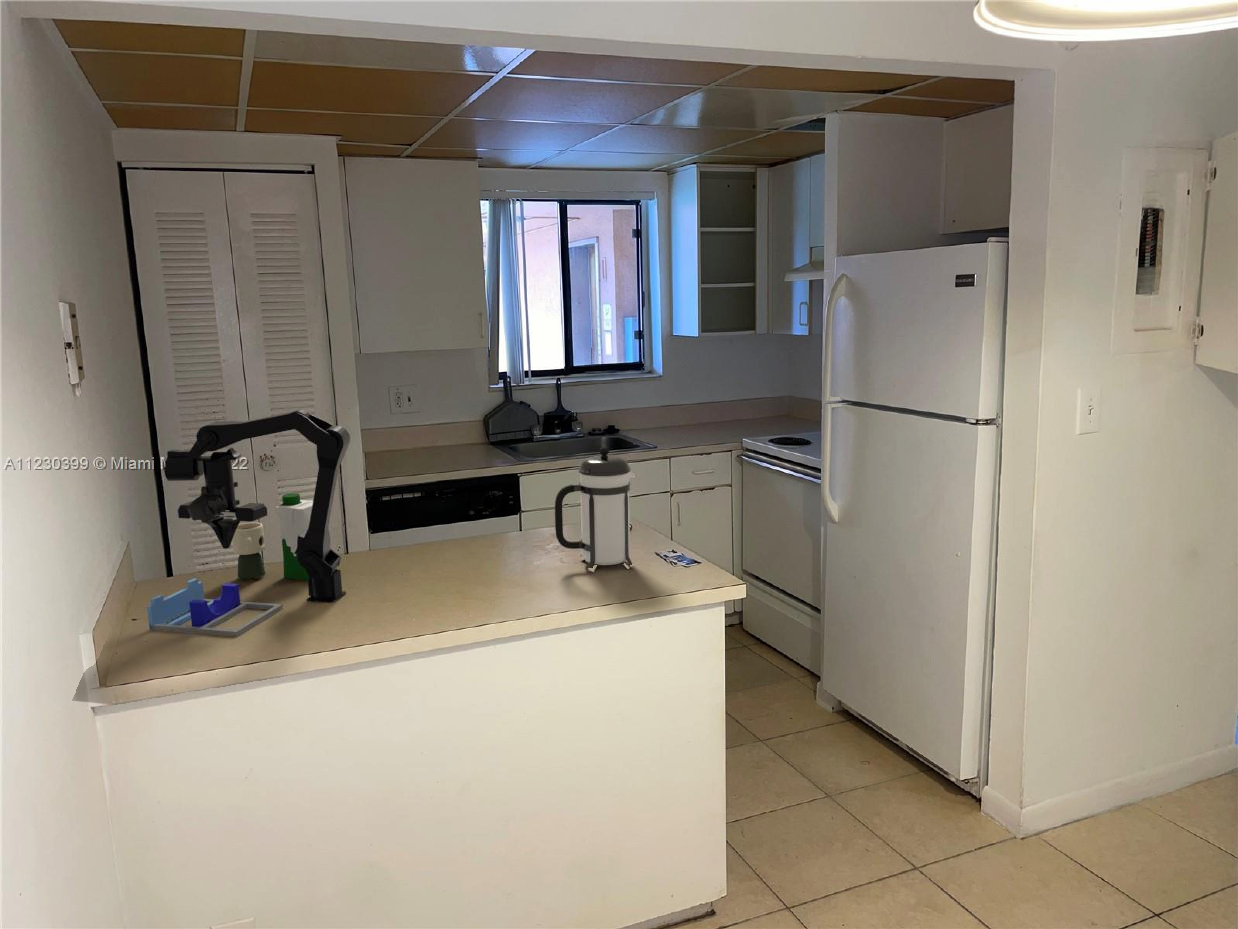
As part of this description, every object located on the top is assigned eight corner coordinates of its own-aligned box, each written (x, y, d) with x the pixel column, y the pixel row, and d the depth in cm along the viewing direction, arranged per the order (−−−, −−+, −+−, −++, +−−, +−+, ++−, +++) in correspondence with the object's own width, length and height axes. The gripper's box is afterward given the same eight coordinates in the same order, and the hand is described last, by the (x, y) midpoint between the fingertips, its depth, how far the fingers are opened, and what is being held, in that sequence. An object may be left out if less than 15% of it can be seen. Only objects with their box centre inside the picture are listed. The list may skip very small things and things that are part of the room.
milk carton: (301, 568, 223) (294, 490, 219) (331, 571, 220) (325, 492, 216) (277, 579, 214) (270, 498, 211) (309, 582, 212) (302, 501, 208)
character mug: (269, 581, 213) (264, 529, 210) (237, 586, 210) (231, 533, 207) (265, 569, 222) (260, 519, 220) (234, 573, 219) (229, 522, 217)
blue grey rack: (282, 608, 194) (280, 581, 193) (237, 636, 179) (234, 607, 178) (200, 602, 199) (198, 576, 197) (149, 629, 183) (146, 601, 182)
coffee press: (597, 551, 233) (594, 439, 227) (647, 561, 224) (646, 445, 218) (554, 569, 219) (551, 449, 213) (606, 580, 210) (604, 456, 204)
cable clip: (223, 608, 196) (220, 582, 194) (241, 610, 195) (238, 584, 193) (186, 629, 184) (182, 601, 183) (205, 630, 183) (201, 603, 182)
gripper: (156, 486, 188) (164, 556, 191) (233, 489, 184) (240, 561, 187) (191, 475, 199) (198, 542, 202) (265, 478, 195) (272, 546, 198)
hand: (226, 548), depth 197 cm, fingers closed
